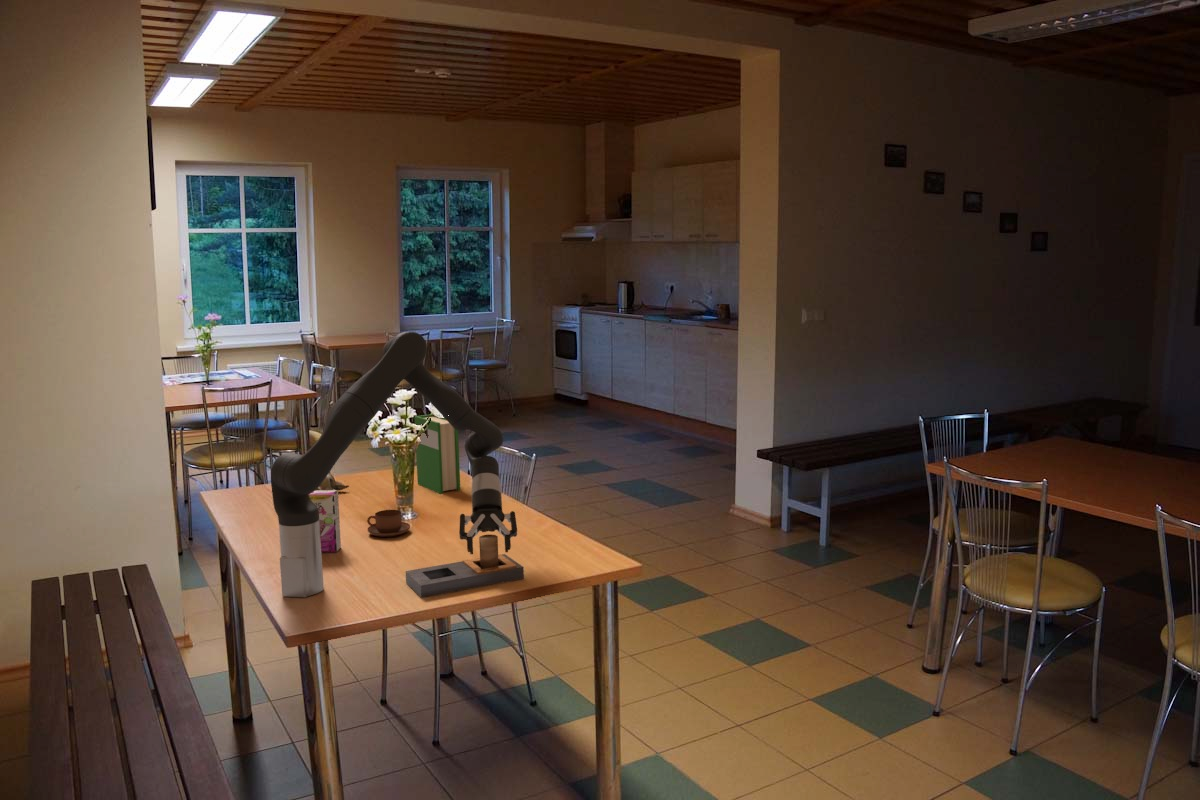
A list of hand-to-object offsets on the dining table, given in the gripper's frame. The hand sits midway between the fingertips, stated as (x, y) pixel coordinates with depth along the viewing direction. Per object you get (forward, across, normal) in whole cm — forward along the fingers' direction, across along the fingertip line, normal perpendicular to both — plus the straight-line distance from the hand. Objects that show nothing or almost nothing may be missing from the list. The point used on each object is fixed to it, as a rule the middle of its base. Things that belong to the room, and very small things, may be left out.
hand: (489, 551), depth 237 cm
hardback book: (-64, -15, +74) cm, 99 cm away
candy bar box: (-17, -45, +27) cm, 56 cm away
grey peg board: (+5, -6, +4) cm, 9 cm away
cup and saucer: (-27, -28, +37) cm, 53 cm away
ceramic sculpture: (-64, -53, +74) cm, 111 cm away
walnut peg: (+4, 0, +6) cm, 7 cm away
